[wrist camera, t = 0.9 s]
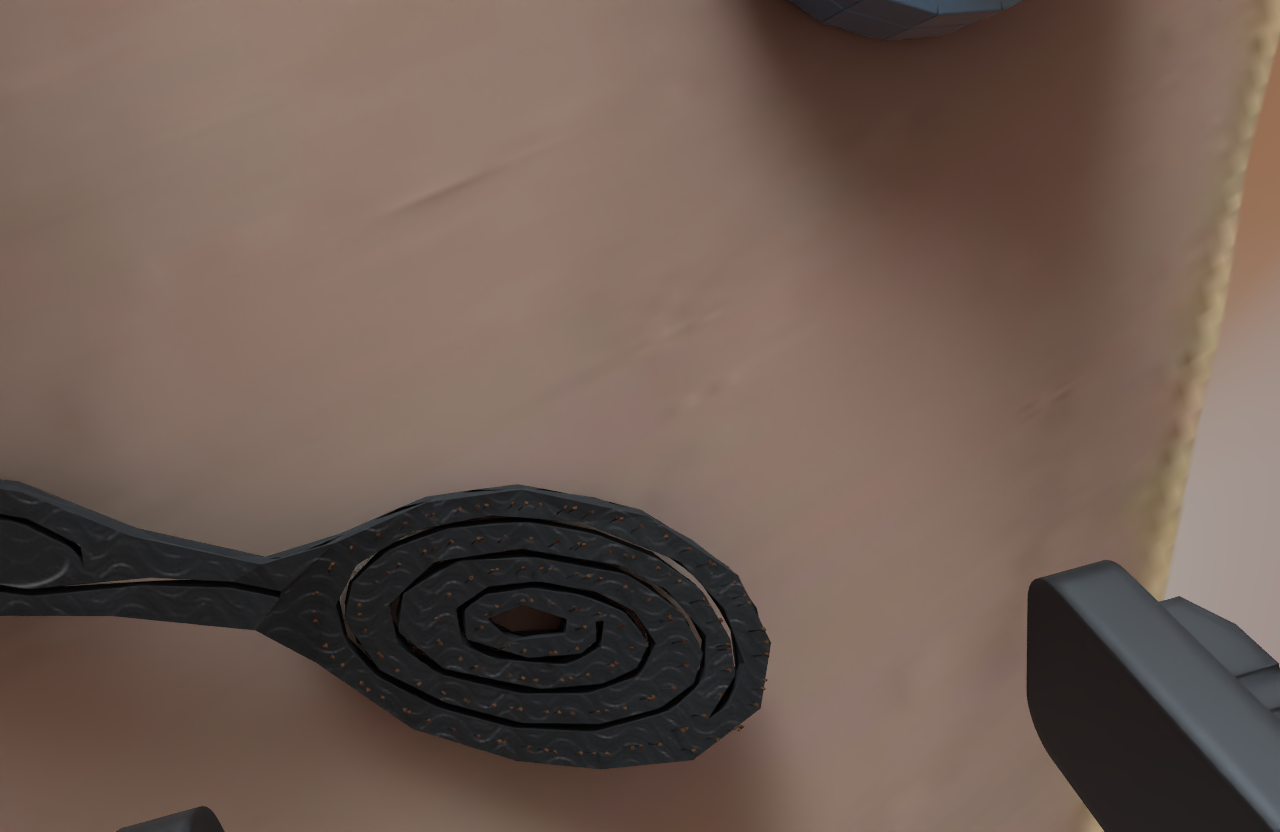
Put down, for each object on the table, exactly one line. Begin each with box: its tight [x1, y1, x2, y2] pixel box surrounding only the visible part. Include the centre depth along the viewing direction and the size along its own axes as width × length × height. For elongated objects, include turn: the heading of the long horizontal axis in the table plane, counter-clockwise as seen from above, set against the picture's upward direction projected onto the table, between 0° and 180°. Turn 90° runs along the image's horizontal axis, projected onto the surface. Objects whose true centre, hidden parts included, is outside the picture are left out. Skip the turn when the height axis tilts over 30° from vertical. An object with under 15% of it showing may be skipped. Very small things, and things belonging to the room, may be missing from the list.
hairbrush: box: [0, 480, 771, 769], centre depth 30 cm, size 8×4×25 cm
